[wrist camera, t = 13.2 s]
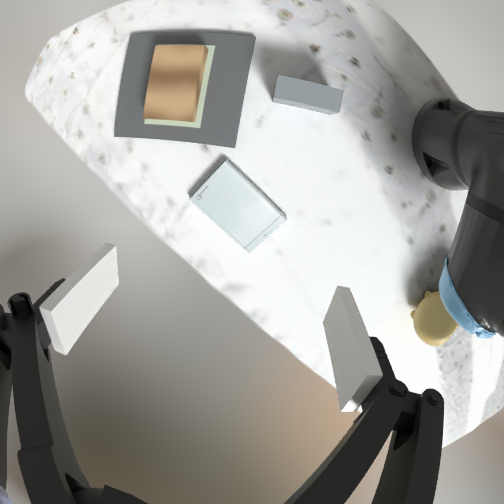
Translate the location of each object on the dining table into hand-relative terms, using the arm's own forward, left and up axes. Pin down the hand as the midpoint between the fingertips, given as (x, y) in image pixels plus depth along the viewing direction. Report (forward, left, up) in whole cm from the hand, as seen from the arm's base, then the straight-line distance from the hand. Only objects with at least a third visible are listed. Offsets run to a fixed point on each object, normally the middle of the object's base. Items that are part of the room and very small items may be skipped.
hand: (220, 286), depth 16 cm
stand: (-5, -14, -27) cm, 31 cm away
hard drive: (+1, +4, -28) cm, 28 cm away
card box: (+12, -14, -26) cm, 32 cm away
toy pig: (-39, +14, -27) cm, 49 cm away
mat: (+12, -14, -27) cm, 32 cm away
